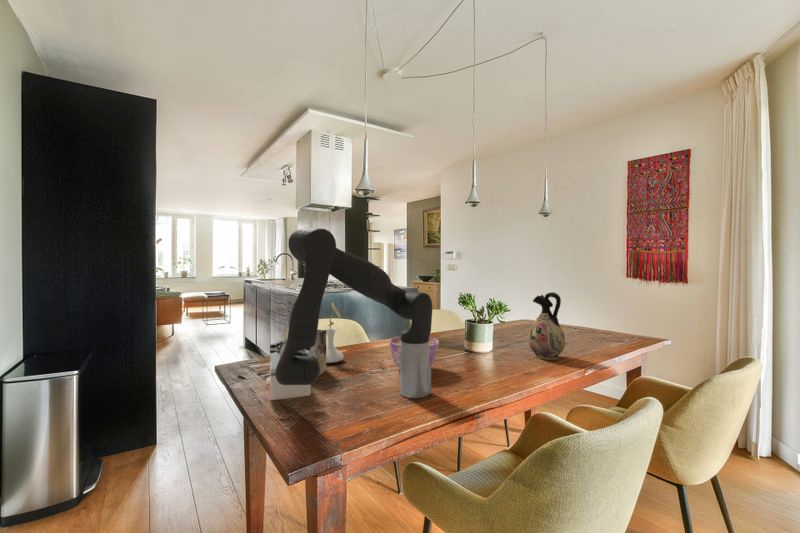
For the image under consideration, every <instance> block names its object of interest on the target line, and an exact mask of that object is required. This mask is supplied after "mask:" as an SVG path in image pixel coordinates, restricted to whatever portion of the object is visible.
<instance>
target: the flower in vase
mask: <svg viewBox="0 0 800 533" xmlns="http://www.w3.org/2000/svg"><path fill="white" fill-rule="evenodd" d="M330 305H331V308H332V310H333V311H332V314H331V315H330V318H329V324H328V326H329V328H325V329H324V330H326V337H327V345H326V364H333V363H338V362H341V361H343V360H344V358H345V356H344V354H343V353H342V352H341V351H340V350H339V349H337V348H336V347H335V345H334V337H335V333H336V331H337V330H338V329H337V328H335V327H333V328H331V326H333V325H334V324H335V323H334V322H333V321H332V317H333V315H334V314H335V315H337V317H338V318H339V319H342V316H341V312H339V310H338V307H336V305H335V303H333V302H331V304H330Z"/></svg>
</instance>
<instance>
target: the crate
mask: <svg viewBox="0 0 800 533" xmlns="http://www.w3.org/2000/svg"><path fill="white" fill-rule="evenodd" d="M269 362H270V363H269V374H270V375H269V376H270V378H269V392H270V393H269V396H270V401H274V400H275V401H276V400H284V399H292V398H301V397H311V389H312V388H311V386H312V384H310V385H281V384H280V383H278V381H277V380H276V376H275V371H271V361H269Z"/></svg>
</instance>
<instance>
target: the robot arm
mask: <svg viewBox="0 0 800 533" xmlns="http://www.w3.org/2000/svg"><path fill="white" fill-rule="evenodd" d="M288 249H289V252H290V253H291V256H293V258H295V260H296V261H298V262H300V263H302V264H304V275H303V281H302V285H301V288H300V290H299V292H298V295H297V297H296V299H295V301H294V304H293V305H292V308H291V313H290V316H289V322H288V330H287V337H286V339H285V340H284V341H282V340H281V341H277V342H274V343H272V344H269V353H274V352H277V353H278V354H279V359H280V360H279V362H278V364H277V367H276V371H275V376H276V380H277V381H278V383H280V384H281V385H310V384H311V385H312V384H314V383H315V382H316V381H317V380H318V378H319V377H320V375H319V373H320V366H319V363H318V360H317V359H316V357H314V356H313V355H311V354H309V353H307V352H306V350H310V348H311V347H313V346H314V345H315V343H316V337H317V330H319V328H318V327H319V322H320V321H319V320H320V313H321V307H322V302H323V299H324V295H325V291H326V287H327V284H328V280H329V276H332V277H333V278H335V279H336V280H337V281H339V282H341V283H342V284H343V285H346V286H347V287H348V288H351V289H352V290H354V291H355V292H357V293H359V294H361V295H362V296H364V297H365V298H368V299H371V300H373V301H375V302H377V303H379V304H382V305H383V306H385V307H387V308H388V309H390V310H391V311H393V313H395V314H396V315H398V316H399V317H401V318H403V319H405V320H410V321H411V323H410V328H409V329H406V330H403V331H401V333H400V336H401V360H400V367H399V369H400V370H399V372H400V374H399V375H400V376H399V377H400V380H399V388H400V391H399V392H400V395H401V396H402V397H404V398H409V399H422V397H423V398H426V397H427V396H430V395H429V394H431V395H432V366H431V365H430V364H429V337H430V335H431V332H432V321H433V320H432V318H433V301H432V298H431V296H430V295H429V294H428V293H427V292H421V291H412V290H411V291H410V290H406V289H402V288H400V287H399V286H397V285H395V284H394V283H393V282H392V280H391V278H390V276H389V274H387V272H386V271H384V270H383V269H382V268H381V267H379V266H377V265H376V264H374V263H373V262H371V261H369V260H366V259H364V258H362V257H360V256H357V255H355V254H353V253H349V252H347V251H344V250H341V249H339V248H337V241H336V238H335V236H334V235H333V233H332V232H331V231H329V230H328V229H327V228H323V227H322V228H321V227H320V228H319V227H307V226H306V227H301V228H298V229H297V230H294V231H293V232H292V233H291V235H290V236H289V238H288ZM425 396H426V397H425Z"/></svg>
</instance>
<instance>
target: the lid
mask: <svg viewBox="0 0 800 533" xmlns="http://www.w3.org/2000/svg"><path fill="white" fill-rule="evenodd" d="M306 352H307V353H309V351H308V350H306ZM269 353H270V352H269ZM269 355H270V362H271V371H276V367H277V364H278V362H279V360H280V359H279V354H278V353H277V352H274V353H270V354H269Z"/></svg>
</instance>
